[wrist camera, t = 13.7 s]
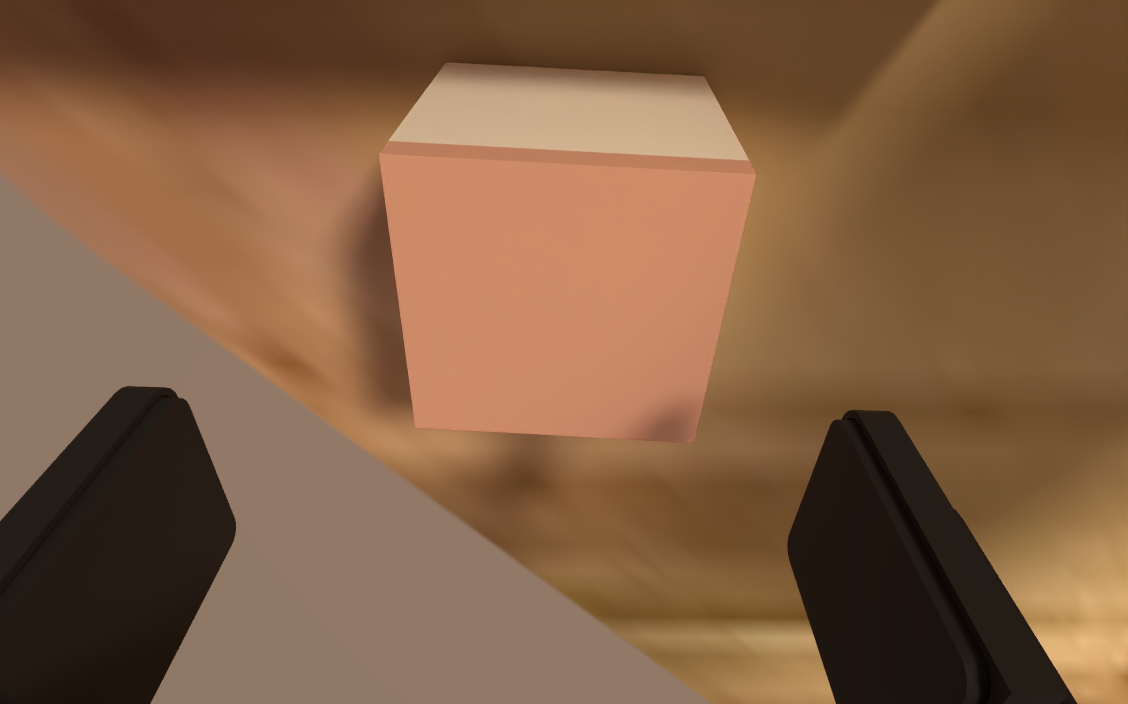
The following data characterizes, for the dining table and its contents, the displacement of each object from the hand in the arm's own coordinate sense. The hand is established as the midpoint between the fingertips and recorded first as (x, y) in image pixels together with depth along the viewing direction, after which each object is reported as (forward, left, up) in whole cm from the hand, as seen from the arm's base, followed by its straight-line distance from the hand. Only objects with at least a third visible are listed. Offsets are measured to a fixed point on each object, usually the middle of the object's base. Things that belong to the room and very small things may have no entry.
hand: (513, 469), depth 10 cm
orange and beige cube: (-1, -1, -9) cm, 9 cm away
